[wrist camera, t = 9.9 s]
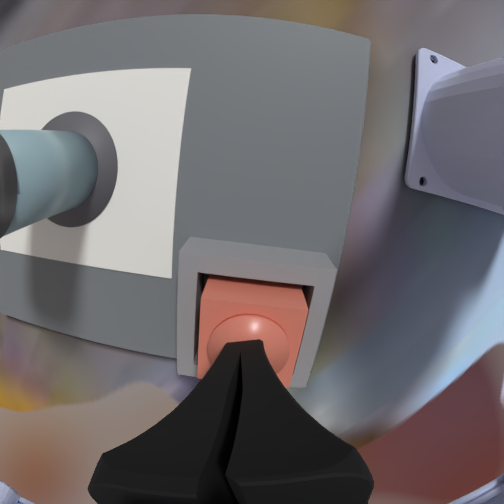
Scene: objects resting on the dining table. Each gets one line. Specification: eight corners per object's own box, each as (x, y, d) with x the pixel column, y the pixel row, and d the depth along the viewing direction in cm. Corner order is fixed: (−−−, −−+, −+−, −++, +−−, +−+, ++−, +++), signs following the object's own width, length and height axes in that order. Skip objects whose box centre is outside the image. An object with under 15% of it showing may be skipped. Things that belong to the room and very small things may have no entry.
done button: (300, 283, 14) (309, 313, 11) (284, 356, 15) (289, 392, 12) (209, 273, 13) (199, 301, 11) (204, 347, 15) (196, 382, 12)
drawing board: (362, 46, 12) (387, 24, 9) (308, 360, 18) (316, 398, 14) (7, 54, 12) (-26, 46, 8) (6, 304, 17) (-21, 325, 14)
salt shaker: (102, 128, 12) (-24, 122, 5) (97, 212, 14) (-19, 269, 6) (40, 132, 12) (-79, 138, 5) (37, 207, 14) (-74, 252, 6)
